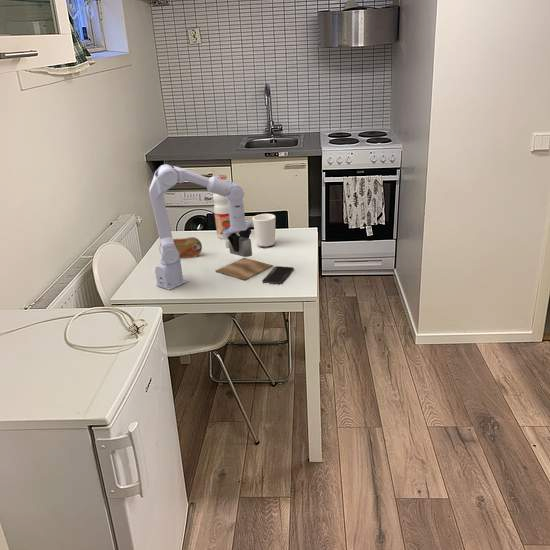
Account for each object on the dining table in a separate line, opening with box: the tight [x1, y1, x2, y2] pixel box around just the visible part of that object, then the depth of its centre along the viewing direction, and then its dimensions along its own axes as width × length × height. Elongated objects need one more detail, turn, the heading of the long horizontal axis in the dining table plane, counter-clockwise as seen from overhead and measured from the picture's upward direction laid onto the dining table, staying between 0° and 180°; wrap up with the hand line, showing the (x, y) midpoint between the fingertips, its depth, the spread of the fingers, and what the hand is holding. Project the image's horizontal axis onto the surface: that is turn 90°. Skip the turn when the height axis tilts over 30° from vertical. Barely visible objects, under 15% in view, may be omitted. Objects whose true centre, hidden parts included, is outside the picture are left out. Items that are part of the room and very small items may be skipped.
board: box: [215, 257, 274, 281], centre depth 222 cm, size 16×16×1 cm
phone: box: [261, 265, 295, 286], centre depth 213 cm, size 8×1×15 cm
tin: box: [173, 236, 203, 260], centre depth 238 cm, size 15×3×8 cm, turn 92°
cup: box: [252, 213, 277, 249], centre depth 243 cm, size 10×10×13 cm
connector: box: [224, 237, 253, 258], centre depth 218 cm, size 4×12×6 cm, turn 49°
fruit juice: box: [212, 174, 238, 240], centre depth 255 cm, size 9×9×28 cm
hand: (240, 249), depth 218 cm, fingers closed on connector, 4 cm apart
